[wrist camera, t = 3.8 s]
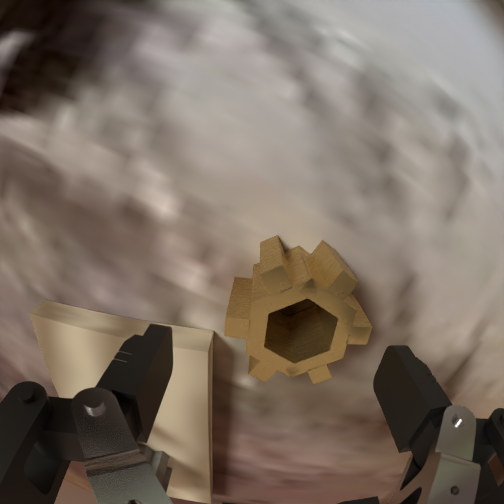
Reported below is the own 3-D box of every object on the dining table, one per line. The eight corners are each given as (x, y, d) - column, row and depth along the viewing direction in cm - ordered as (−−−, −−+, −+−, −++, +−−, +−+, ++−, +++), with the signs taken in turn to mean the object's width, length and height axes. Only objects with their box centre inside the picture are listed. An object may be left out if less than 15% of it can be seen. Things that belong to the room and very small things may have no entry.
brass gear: (357, 244, 14) (387, 274, 10) (335, 338, 16) (351, 384, 12) (238, 231, 14) (229, 259, 10) (230, 330, 16) (222, 378, 12)
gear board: (213, 330, 16) (190, 417, 10) (213, 489, 23) (206, 537, 17) (46, 299, 16) (-12, 350, 10) (109, 465, 23) (92, 507, 17)
